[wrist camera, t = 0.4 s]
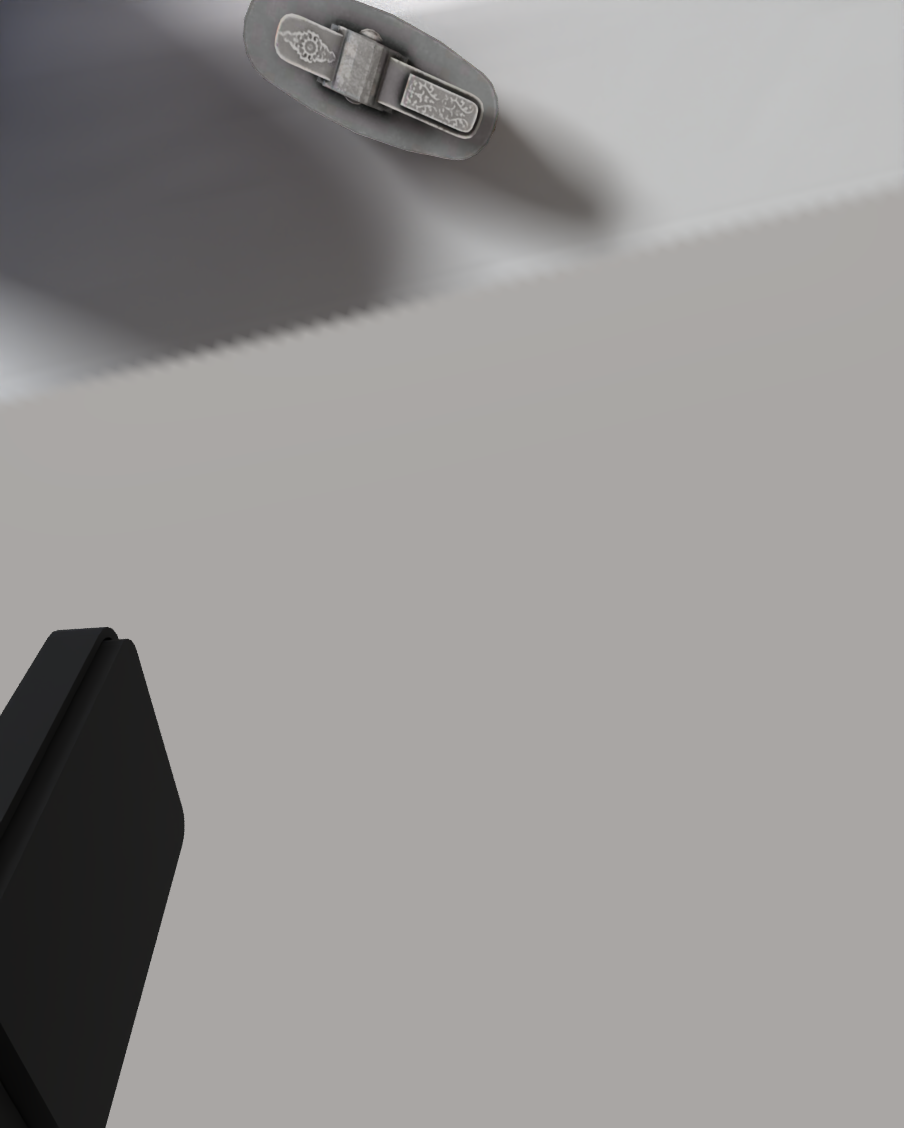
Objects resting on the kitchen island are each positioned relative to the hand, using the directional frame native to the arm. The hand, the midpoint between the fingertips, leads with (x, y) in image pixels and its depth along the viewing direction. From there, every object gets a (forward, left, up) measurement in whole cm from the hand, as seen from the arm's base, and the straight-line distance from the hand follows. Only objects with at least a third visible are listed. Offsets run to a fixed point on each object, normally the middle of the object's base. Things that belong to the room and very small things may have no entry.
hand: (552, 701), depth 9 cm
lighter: (-6, -2, -30) cm, 30 cm away
